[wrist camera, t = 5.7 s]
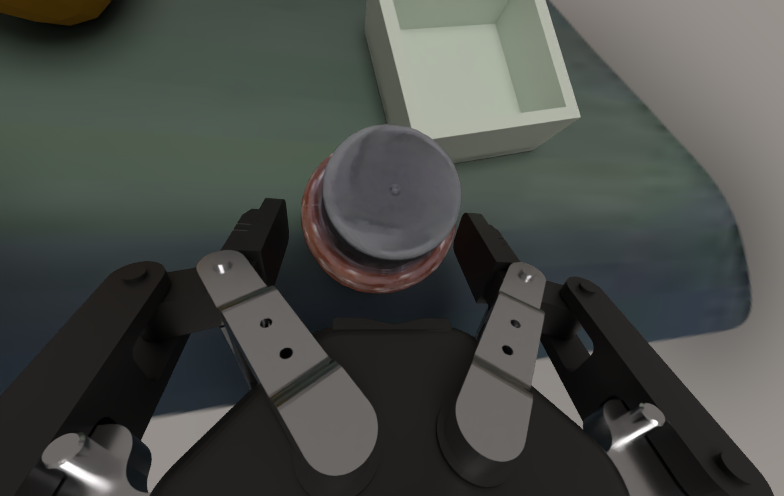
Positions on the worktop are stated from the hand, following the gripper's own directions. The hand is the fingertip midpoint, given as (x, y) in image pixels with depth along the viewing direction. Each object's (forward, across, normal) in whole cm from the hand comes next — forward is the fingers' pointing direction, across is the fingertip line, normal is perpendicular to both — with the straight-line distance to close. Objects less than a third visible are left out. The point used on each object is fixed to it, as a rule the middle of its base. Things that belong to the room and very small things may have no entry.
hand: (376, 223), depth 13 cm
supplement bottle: (+4, 0, +5) cm, 6 cm away
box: (+13, -6, -4) cm, 15 cm away
